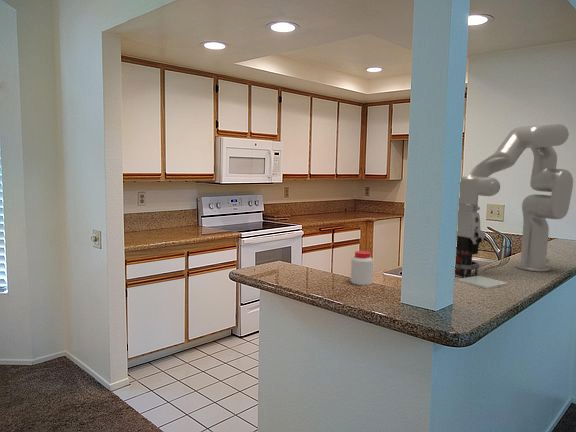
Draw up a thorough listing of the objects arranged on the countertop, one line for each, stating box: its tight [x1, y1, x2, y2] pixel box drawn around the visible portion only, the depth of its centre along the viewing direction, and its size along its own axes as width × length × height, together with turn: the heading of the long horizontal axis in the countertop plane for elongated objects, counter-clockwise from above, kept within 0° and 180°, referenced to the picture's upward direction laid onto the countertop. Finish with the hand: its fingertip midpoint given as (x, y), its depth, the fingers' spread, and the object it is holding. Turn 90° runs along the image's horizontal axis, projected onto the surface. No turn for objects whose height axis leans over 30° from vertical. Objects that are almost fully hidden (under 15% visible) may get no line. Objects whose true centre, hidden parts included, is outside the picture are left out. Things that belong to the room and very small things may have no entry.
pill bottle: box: [350, 250, 374, 286], centre depth 159 cm, size 8×8×11 cm
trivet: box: [457, 275, 508, 290], centre depth 161 cm, size 12×12×1 cm
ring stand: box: [454, 260, 480, 279], centre depth 174 cm, size 11×11×5 cm
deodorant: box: [454, 237, 473, 277], centre depth 173 cm, size 6×6×15 cm
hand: (463, 251), depth 173 cm, fingers open, 9 cm apart
